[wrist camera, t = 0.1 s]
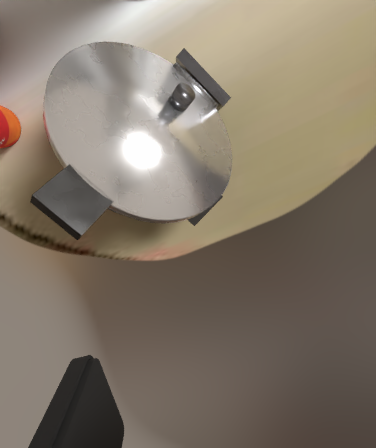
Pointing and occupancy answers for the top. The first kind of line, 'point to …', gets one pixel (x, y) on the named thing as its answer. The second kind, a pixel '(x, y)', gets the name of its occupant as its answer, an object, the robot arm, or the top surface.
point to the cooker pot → (211, 89)
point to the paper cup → (8, 128)
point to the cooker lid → (130, 139)
